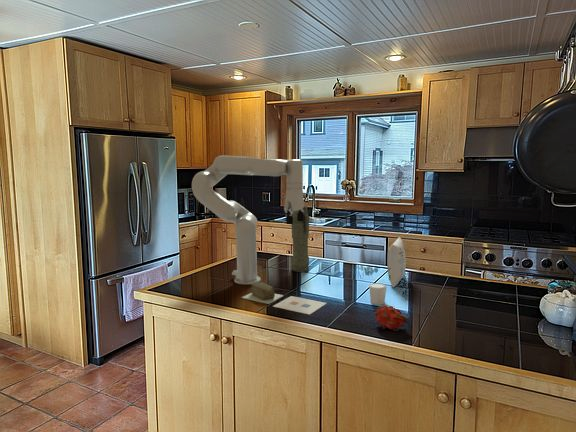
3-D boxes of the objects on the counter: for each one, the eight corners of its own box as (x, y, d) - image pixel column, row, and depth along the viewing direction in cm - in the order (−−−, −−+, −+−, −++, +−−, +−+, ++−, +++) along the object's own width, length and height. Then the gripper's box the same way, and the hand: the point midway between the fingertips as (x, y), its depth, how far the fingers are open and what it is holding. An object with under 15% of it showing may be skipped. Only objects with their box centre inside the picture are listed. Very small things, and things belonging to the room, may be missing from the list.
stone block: (264, 301, 170) (263, 289, 170) (249, 294, 180) (249, 283, 179) (275, 298, 174) (275, 286, 173) (261, 291, 183) (260, 280, 182)
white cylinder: (387, 300, 171) (387, 283, 170) (385, 305, 165) (385, 288, 164) (370, 298, 173) (370, 282, 172) (367, 304, 167) (368, 287, 166)
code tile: (272, 306, 166) (272, 305, 165) (291, 296, 177) (291, 295, 177) (309, 314, 156) (309, 314, 156) (326, 303, 168) (326, 302, 168)
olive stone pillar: (303, 273, 211) (303, 205, 206) (286, 269, 219) (285, 203, 214) (314, 269, 218) (314, 203, 213) (297, 266, 226) (297, 202, 221)
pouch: (409, 277, 202) (410, 237, 199) (400, 289, 185) (401, 245, 182) (392, 275, 205) (393, 236, 202) (382, 286, 189) (383, 243, 186)
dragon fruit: (372, 326, 148) (405, 339, 142) (366, 320, 142) (400, 333, 135) (381, 305, 151) (413, 316, 144) (375, 297, 144) (409, 309, 138)
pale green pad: (241, 298, 176) (241, 297, 176) (257, 290, 185) (257, 290, 185) (268, 304, 168) (268, 303, 168) (283, 296, 178) (283, 295, 177)
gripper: (297, 185, 202) (297, 219, 204) (277, 187, 187) (278, 224, 190) (310, 185, 198) (311, 220, 200) (291, 187, 183) (292, 226, 186)
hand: (295, 222), depth 195 cm, fingers open, 9 cm apart
